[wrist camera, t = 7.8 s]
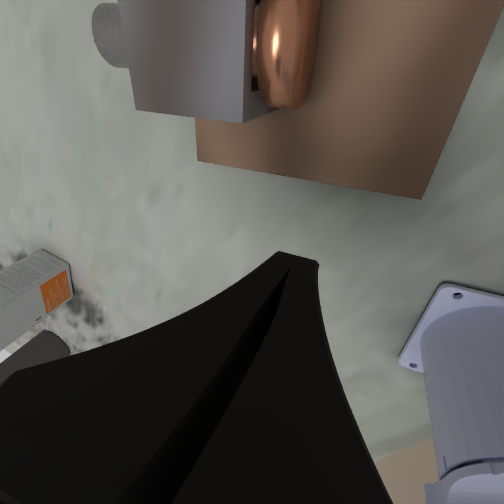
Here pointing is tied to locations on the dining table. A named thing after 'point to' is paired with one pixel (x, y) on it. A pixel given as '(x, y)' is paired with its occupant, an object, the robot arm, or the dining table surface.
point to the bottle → (34, 354)
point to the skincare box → (31, 293)
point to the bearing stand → (315, 85)
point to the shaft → (264, 46)
